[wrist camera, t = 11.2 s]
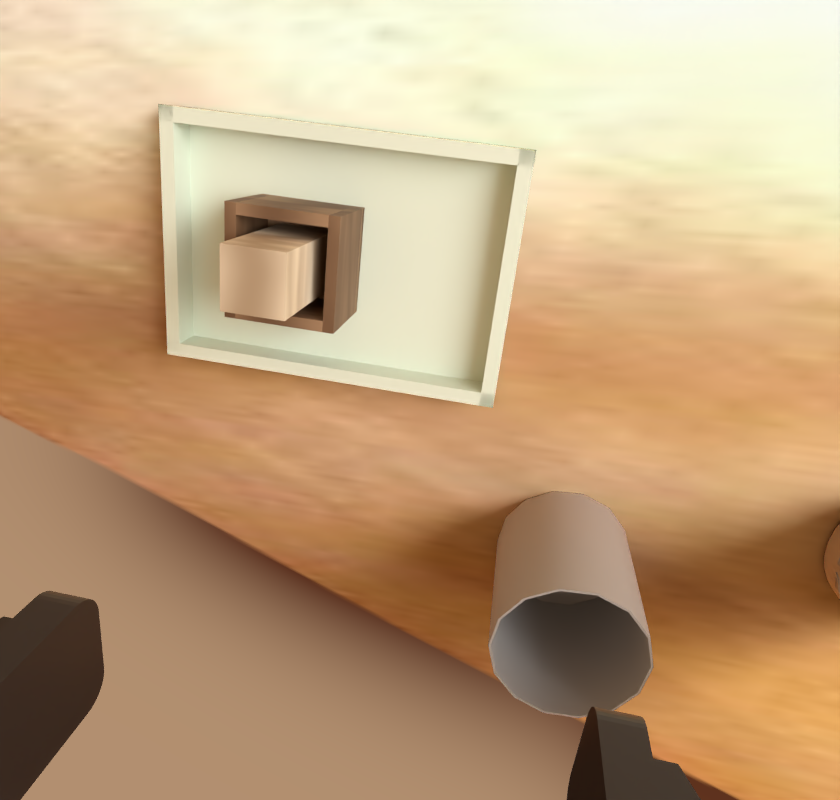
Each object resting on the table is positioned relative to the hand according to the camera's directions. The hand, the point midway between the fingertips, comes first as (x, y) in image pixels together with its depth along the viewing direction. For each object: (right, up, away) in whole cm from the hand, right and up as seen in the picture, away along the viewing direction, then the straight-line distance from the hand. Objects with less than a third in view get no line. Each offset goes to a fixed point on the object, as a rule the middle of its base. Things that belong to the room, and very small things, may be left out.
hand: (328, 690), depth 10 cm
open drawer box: (-5, +13, +28) cm, 31 cm away
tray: (-3, +13, +28) cm, 31 cm away
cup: (+11, -5, +33) cm, 35 cm away
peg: (-5, +13, +27) cm, 31 cm away
